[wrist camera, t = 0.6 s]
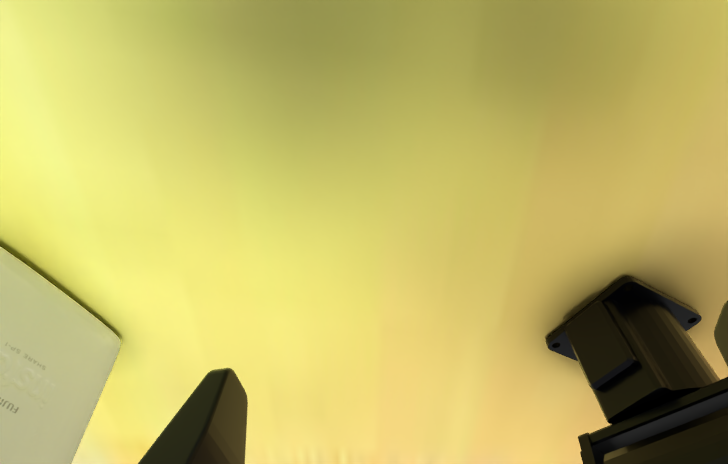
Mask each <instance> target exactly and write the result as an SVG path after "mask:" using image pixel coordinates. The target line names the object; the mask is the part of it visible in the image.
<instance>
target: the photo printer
mask: <svg viewBox="0 0 728 464" xmlns="http://www.w3.org/2000/svg"><path fill="white" fill-rule="evenodd" d="M120 346H121V341H120V339H119V338H118V336H117V335H116V334H115V333H114V332H113V331H112V330H111V329H109V328H108V327H107V326H106V325H105V324H103V323H102V322H101V321H100V320H98V319H97V318H96V317H95V316H93V315H92V314H91V313H90V312H88V311H87V310H86V309H85V308H83V307H82V306H81V305H79V304H78V303H77V302H76V301H74V300H73V299H72V298H70V297H69V296H68V295H66V294H65V293H64V292H62V291H61V290H60V289H58V288H57V287H56V286H54V285H53V284H52V283H50V282H49V281H48V280H46V279H45V278H44V277H42V276H41V275H40V274H38V273H37V272H36V271H34V270H33V269H32V268H30V267H29V266H27V265H26V264H25V263H23V262H22V261H20V260H19V259H18V258H16V257H15V256H13V255H12V254H10V253H9V252H8V251H6V250H5V249H3V248H2V247H0V464H71V463H72V461H73V458H74V456H75V453H76V451H77V449H78V446H79V444H80V442H81V439H82V437H83V435H84V432H85V430H86V428H87V425H88V423H89V421H90V419H91V416H92V414H93V411H94V409H95V407H96V404H97V402H98V400H99V398H100V395H101V393H102V391H103V388H104V386H105V383H106V381H107V379H108V377H109V374H110V372H111V370H112V367H113V365H114V362H115V360H116V357H117V355H118V352H119V349H120Z"/></svg>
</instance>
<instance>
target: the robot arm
mask: <svg viewBox="0 0 728 464" xmlns="http://www.w3.org/2000/svg"><path fill="white" fill-rule="evenodd" d="M700 321H701V316H700V315H699V313H698V312H697V311H696V310H694V309H693V308H691V307H689V306H687V305H685V304H683V303H681V302H679V301H677V300H675V299H673V298H671V297H670V296H668V295H666V294H664V293H662V292H660V291H658V290H656V289H654V288H652V287H650V286H648V285H647V284H645V283H643V282H641V281H639V280H637V279H635V278H633V277H630V276H627V277H623V278H621V279H619V280H618V281H617V282H616V283H614V284H613V285H612V286H611V287H609V288H608V289H607V290H606V291H605V292H603V293H602V294H601V295H600V296H598V297H597V298H596V299H595V300H593V301H592V302H591V303H590V304H589V305H587V306H586V307H585V308H584V309H582V310H581V311H580V312H579V313H577V314H576V315H575V316H574V317H573V318H571V319H570V320H569V321H568V322H566V323H565V324H564V325H563V326H561V327H560V328H559V329H558V330H557V331H555V332H554V333H553V334H552V335H550V336H549V337H548V338H547V339H546V344H547V346H548V349H550V350H552V351H554V352H557V353H559V354H562V355H564V356H566V357H569V358H571V359H574V360H576V361H579V364H580V366H581V368H582V370H583V372H584V375H585V377H586V379H587V381H588V383H589V385H590V387H591V388H592V389H593V392H594V394H595V396H596V398H597V400H598V402H599V405H600V407H601V409H602V411H603V413H604V416H605V418H606V420H607V422H608V423H610V426H607V427H605V428H602V429H600V430H598V431H595V432H593V433H590V434H589V433H585V434H583V435H580V436H578V439H579V443H580V447H581V452H580V453H581V457H582V461H583V464H728V377H727V378H724V379H722V380H720V379H719V377H718V376H717V375H716V373H715V372H714V370H713V369H712V367H711V366H710V365H709V363H708V362H707V360H706V359H705V358H704V356H703V355H702V353H701V352H700V351H699V349H698V348H697V346H696V345H695V344H694V342H693V341H692V339H691V338H690V336H689V335H688V334H687V332H686V331H687V330H689V329H690V328H692V327H693V326H694V325H696V324H697V323H699V322H700ZM714 337H715V341H716V344H717V346H718V348H719V350H720V352H721V354H722V356H723V358H724V360H725V362H726V364H727V366H728V301H727V302H726V303H725V304H724V306H723V308H722V311H721V314H720V316H719V319H718V322H717V324H716V327H715V330H714ZM247 404H248V402H247V395H246V392H245V390H244V388H243V386H242V385H241V383H240V381H239V379H238V377H237V376H236V374H235V372H234V371H233V370H232V369H230V368H224V369H217V370H212V371H210V372H209V373H208V374H207V375H206V376H205V377H204V379H203V380H202V381H201V383H200V384H199V385H198V386H197V388H196V389H195V390H194V392H193V393H192V394H191V396H190V397H189V398H188V399H187V401H186V402H185V403H184V405H183V406H182V407H181V409H180V410H179V411H178V412H177V414H176V415H175V416H174V418H173V419H172V420H171V422H170V423H169V424H168V425H167V427H166V428H165V429H164V431H163V432H162V433H161V434H160V436H159V437H158V438H157V440H156V441H155V442H154V444H153V445H152V446H151V447H150V449H149V450H148V451H147V453H146V454H145V455H144V457H143V458H142V459H141V460H140V462H139V463H138V464H245V446H246V426H247Z"/></svg>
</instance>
